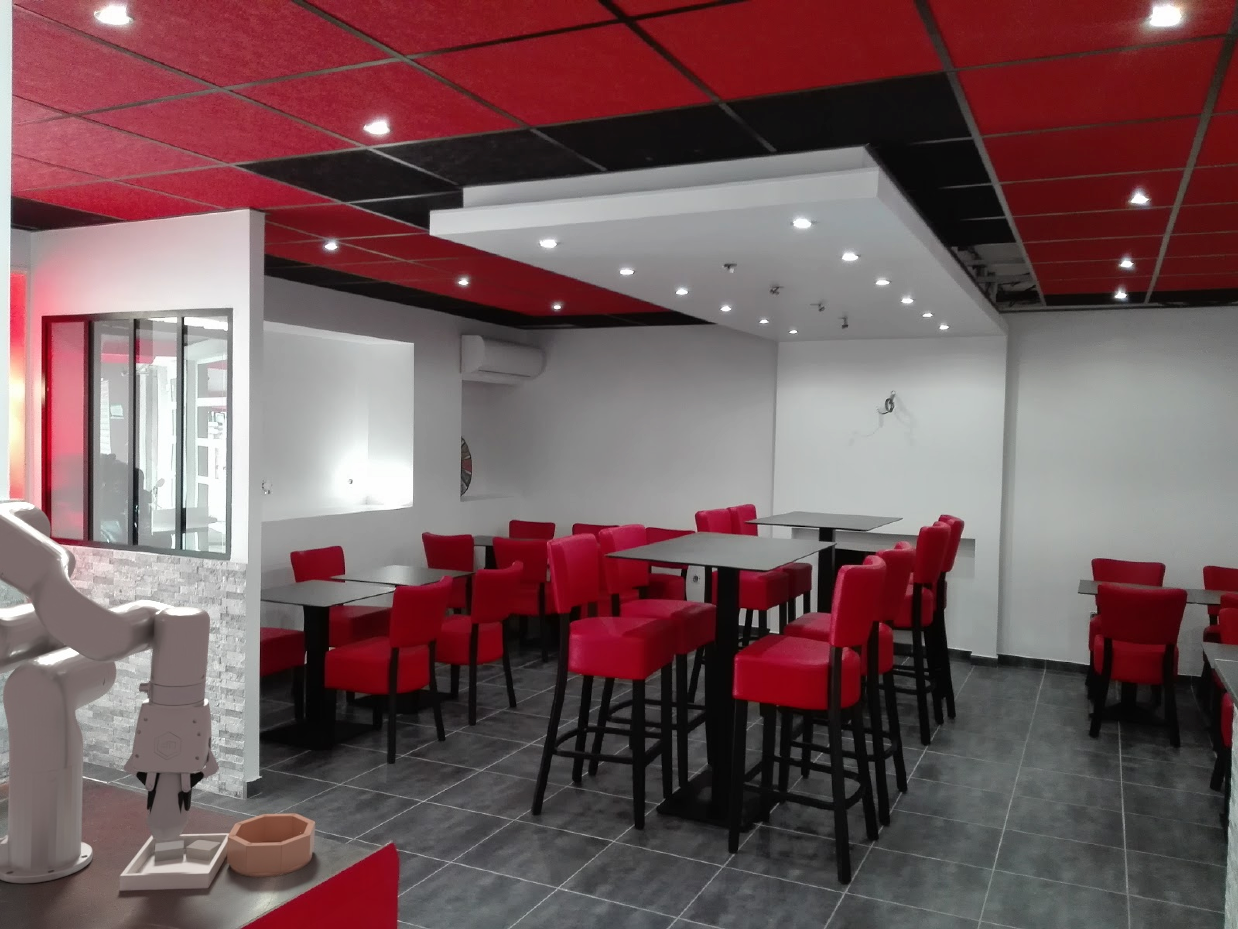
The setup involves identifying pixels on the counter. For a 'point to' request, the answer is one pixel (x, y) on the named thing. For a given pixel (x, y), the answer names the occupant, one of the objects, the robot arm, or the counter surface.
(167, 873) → the tray
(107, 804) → the counter surface
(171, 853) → the grey rectangular block
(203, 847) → the beige rectangular block
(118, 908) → the counter surface
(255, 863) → the bowl
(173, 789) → the salt shaker
